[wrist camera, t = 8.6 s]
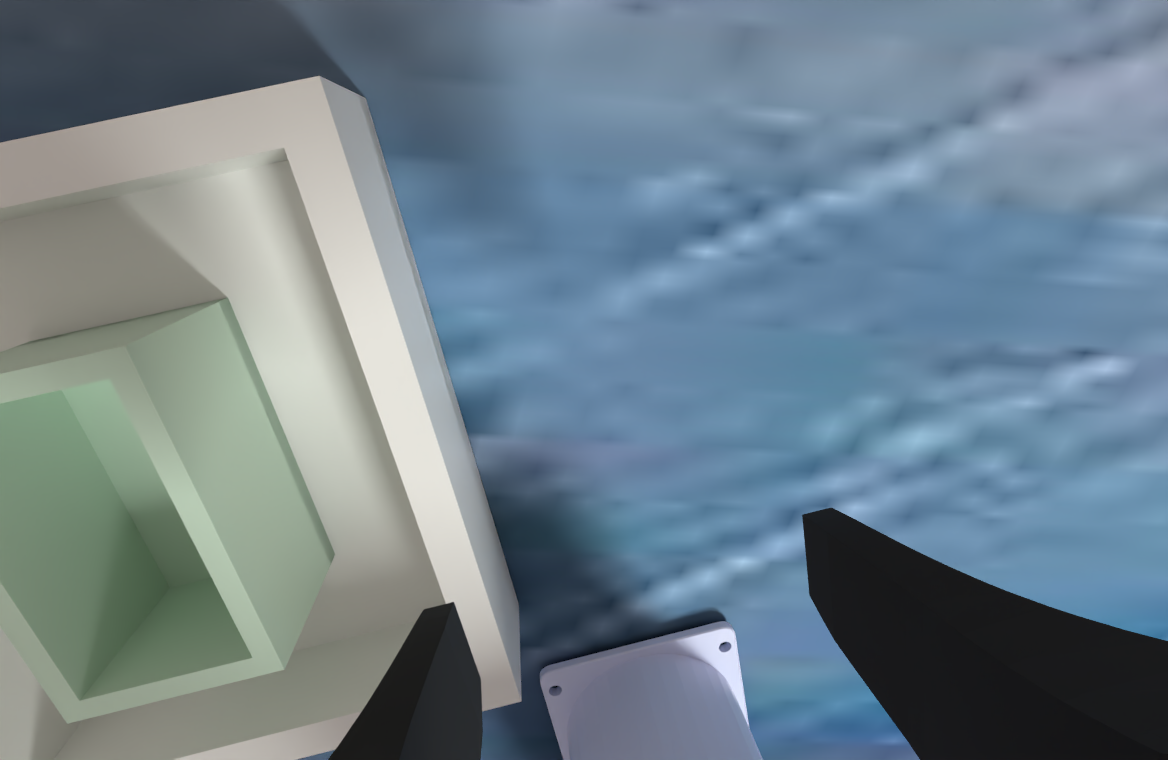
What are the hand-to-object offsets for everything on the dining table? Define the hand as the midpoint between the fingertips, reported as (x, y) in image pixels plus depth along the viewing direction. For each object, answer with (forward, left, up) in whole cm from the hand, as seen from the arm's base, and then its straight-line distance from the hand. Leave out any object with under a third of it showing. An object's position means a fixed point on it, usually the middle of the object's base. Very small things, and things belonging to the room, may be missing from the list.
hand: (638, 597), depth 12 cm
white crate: (+2, +12, -9) cm, 15 cm away
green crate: (+2, +12, -8) cm, 15 cm away
